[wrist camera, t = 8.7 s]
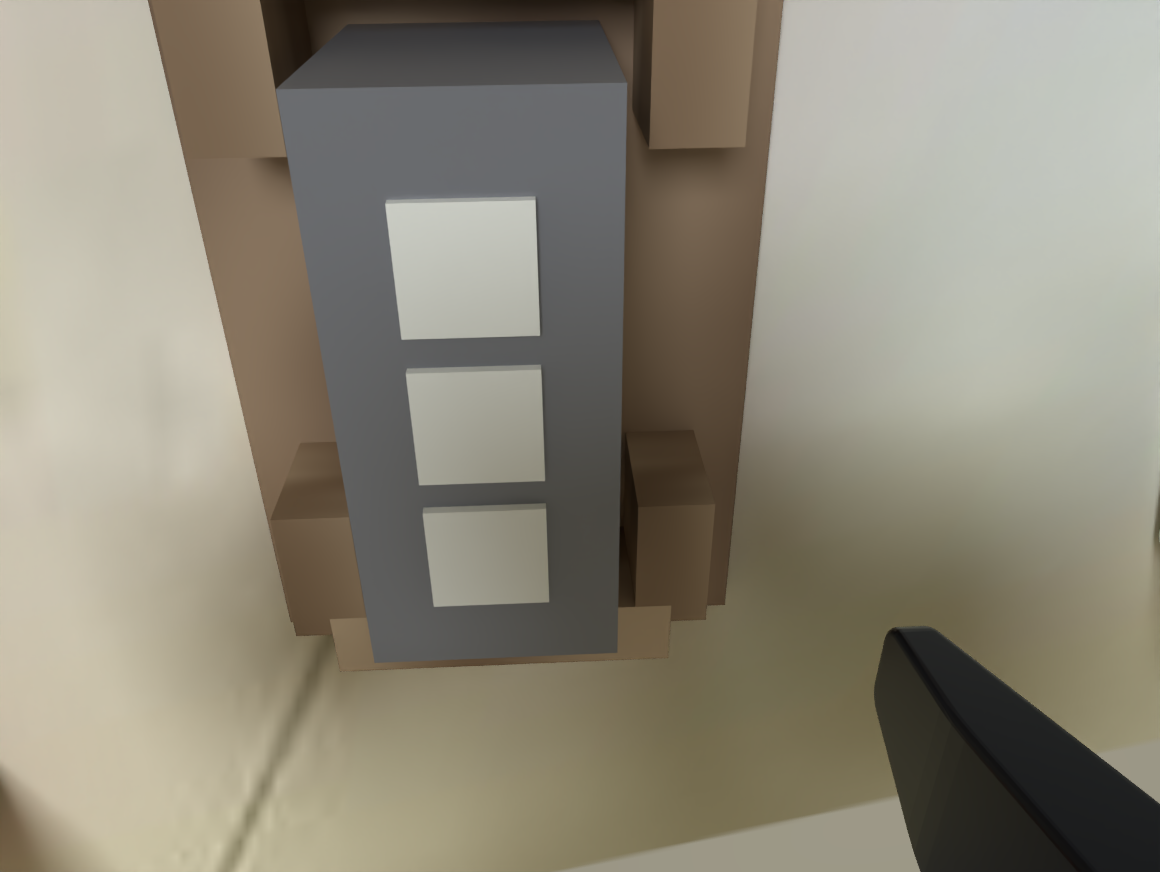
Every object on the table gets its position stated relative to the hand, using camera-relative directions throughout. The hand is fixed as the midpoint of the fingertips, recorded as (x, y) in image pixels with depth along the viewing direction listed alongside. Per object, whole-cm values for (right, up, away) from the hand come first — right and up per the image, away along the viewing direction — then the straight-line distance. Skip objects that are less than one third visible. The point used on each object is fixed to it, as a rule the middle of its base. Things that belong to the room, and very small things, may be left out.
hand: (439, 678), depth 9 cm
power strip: (0, +5, +8) cm, 10 cm away
